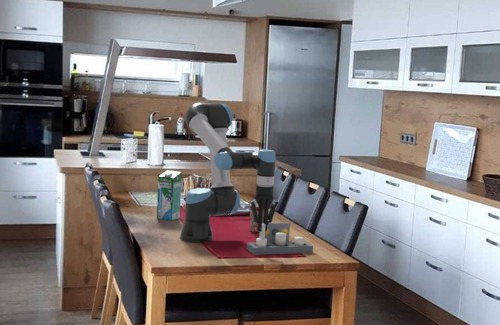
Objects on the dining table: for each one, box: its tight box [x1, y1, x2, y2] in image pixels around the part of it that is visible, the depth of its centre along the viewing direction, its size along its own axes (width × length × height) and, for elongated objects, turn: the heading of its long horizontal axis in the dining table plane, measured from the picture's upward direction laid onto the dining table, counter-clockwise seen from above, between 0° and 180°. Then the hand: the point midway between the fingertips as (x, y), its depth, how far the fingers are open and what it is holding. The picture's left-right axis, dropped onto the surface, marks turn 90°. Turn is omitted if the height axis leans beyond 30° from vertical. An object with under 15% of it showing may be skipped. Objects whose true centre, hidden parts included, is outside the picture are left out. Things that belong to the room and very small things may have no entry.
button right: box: [293, 236, 305, 246], centre depth 299 cm, size 5×5×5 cm
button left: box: [255, 237, 267, 247], centre depth 292 cm, size 5×5×5 cm
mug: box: [249, 202, 264, 233], centre depth 337 cm, size 13×9×14 cm
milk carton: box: [156, 169, 183, 222], centre depth 352 cm, size 9×9×25 cm
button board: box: [246, 240, 314, 256], centre depth 296 cm, size 28×9×4 cm, turn 110°
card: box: [263, 222, 291, 242], centre depth 302 cm, size 14×1×12 cm, turn 110°
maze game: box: [229, 203, 270, 216], centre depth 381 cm, size 35×20×3 cm, turn 107°
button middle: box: [275, 232, 286, 246], centre depth 295 cm, size 5×5×5 cm
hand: (261, 238), depth 292 cm, fingers closed
